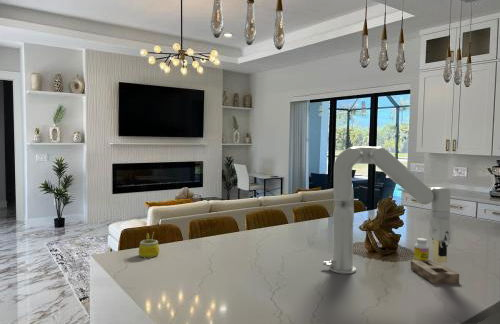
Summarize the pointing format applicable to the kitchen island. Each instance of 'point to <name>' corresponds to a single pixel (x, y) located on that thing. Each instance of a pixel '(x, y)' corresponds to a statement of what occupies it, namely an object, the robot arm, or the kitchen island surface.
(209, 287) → the kitchen island surface
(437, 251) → the peg
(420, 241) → the supplement bottle
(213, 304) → the kitchen island surface
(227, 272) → the kitchen island surface
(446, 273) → the socket block
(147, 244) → the yellow pot
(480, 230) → the kitchen island surface
